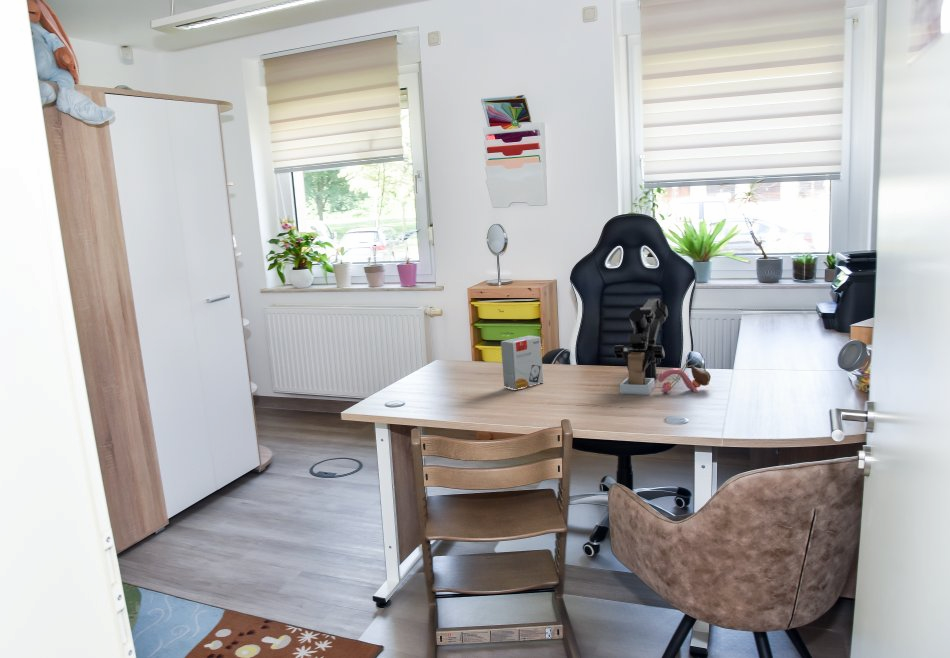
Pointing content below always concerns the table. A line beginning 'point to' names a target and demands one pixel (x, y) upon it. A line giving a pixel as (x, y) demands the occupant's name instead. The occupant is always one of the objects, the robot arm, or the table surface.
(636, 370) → the walnut block
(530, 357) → the hard drive box
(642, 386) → the bin
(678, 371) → the anatomy model
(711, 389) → the table surface
